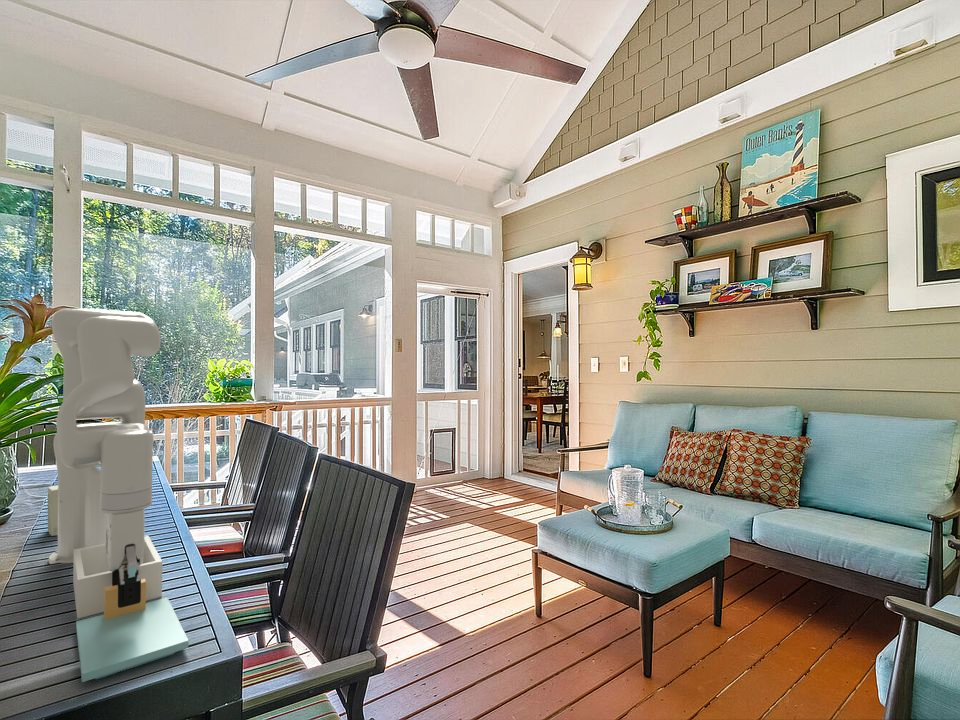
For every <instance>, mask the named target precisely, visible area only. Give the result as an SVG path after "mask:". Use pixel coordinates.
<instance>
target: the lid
mask: <svg viewBox="0 0 960 720" xmlns="http://www.w3.org/2000/svg"><path fill="white" fill-rule="evenodd" d="M75 624H76V626H75V630H76V637H77V638H76V639H77V648H78V658H79V666H80V676H81V682H82V683H85V682H87V681H90V680H93V679H95V680H99V679H103V678H105V677H108V676H110V675H114V674H118V673H121V672H123V670H124V671H126V669H127V670H130V669H133V668H136V667H139V666H142V665H144V664H148V663H151V662H154V661H157V660H160V659H163V658H167V657H168V656H172V655H175V653H176V652H180V651H183V650H186V649H188V648H189V638H188V637H187V634H186V632H185V631H184V628H183V626H182V624H181V621H180V620H179V618H178V616H177V614H176V612H175V610H174V608H173V605H172V603H171V601H170V600H169V598H168V597H163V598H160V599H159V598H158V599H154V600H151V601H146V580H145V579H141V601H140V603H138V604H134V605H130V606H126V607H122V608H119V607H118V585H115V586H111V587H107V588H104V612H103V614H98V615H93V616H90V617H87V618H84V619H80V620H76V622H75ZM129 668H130V669H129ZM120 671H121V672H120ZM117 672H118V673H117Z"/></svg>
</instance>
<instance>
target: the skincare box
mask: <svg viewBox="0 0 960 720" xmlns="http://www.w3.org/2000/svg"><path fill="white" fill-rule="evenodd" d="M48 532H49V533H48ZM47 533H48V534H49V535H50V536H51V537H54V536H58V485H51V486H48V487H47Z"/></svg>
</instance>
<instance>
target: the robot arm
mask: <svg viewBox="0 0 960 720" xmlns="http://www.w3.org/2000/svg"><path fill="white" fill-rule="evenodd" d="M51 330H52V335H53V338H54V341H55V344H56V345H57V348H58V349H59V350H58V351H60V354H61V357H62V360H63V361H62V362H63V384H62V385H63V386H62V387H63V389H62V390H63V391H62V392H63V393H62V402H61V405H60V407H59V409H58V412H57V416H56V433H55V435H54V437H53V445H52V446H53V452H54V456H55V457H54V458H55V464H56V469H57V470H56V471H57V486H58V535H57V550H56V551H54V552H53V553H51V554H50V555H49V556H48V563H49V564H50V565H54V564H70V563H73V559H74V549H79V548H84V547H89V546H95V545H100V544H105V543H106V548H105V559H106V563H107V566H108V569H109V570H110V571H111V572H112V586H115V585H118V607H119V608H122V607H126V606H130V605H134V604H138V603H140V601H141V579H140V570H139V566H140V565H141V564H142V563H143V559H144V536H145V530H146V529H145V515H146V514H145V509H147V508H150V507H151V506H152V505H153V449H154V442H155V441H154V435H153V431H152V430H150V428H149V427H148V425H146V423H145V422H146V405H147V404H146V392H145V391H146V390H145V388H144V386H143V384H142V383H141V382H140V381H139V380H137V379H135V373H134V367H133V361H132V357H154V356H155V355H156V354H158V352H159V351H160V348H161V342H162V341H161V340H162V339H161V332H160V329H159V327H158V325H157V323H156V322H155V321H154V319H153V318H151V317H150V316H148V315H146V314H144V313H143V312H139V311H137V312H136V311H134V312H133V311H123V310H106V309H95V308H66V309H61V310H58V311H56V312H55V313H54V314H53V315H52V319H51ZM115 418H119V419H121V421H111V422H108V421H107V422H94V423H92V422H91V423H79V424H77V420H99V419H115ZM98 467H100V469H99V468H98Z"/></svg>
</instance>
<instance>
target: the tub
mask: <svg viewBox="0 0 960 720" xmlns="http://www.w3.org/2000/svg"><path fill="white" fill-rule="evenodd" d="M105 548H106V543H105V544H100V545H95V546H89V547H84V548H79V549H74V559H73V562H72V563H73V566H72V567H73V569H72V570H73V571H72V573H73V574H72V575H73V579H72V580H73V581H72V584H73V585H72V586H73V594H74V602H75V609H76V617H77V620H78V619H82V618H86V617H89V616H90V617H91V616H92V615H93V616H95V615H96V614H98V615H99V614H101V613H104V588H107V587H111V586H112V572H111V571H110V570H109V569H108V566H107V563H106V559H105ZM139 570H140V579H145V580H146V602H149V601H150V600H151V601H153V600H156V599H159V598H162V597H163V560H162V558H161V556H160V555H159V553H158V551H157V548H156V547H155V546H154V544H153V541H152V540H151V537H150V535H144V559H143V563H142V564H141V565H140V566H139Z"/></svg>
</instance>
